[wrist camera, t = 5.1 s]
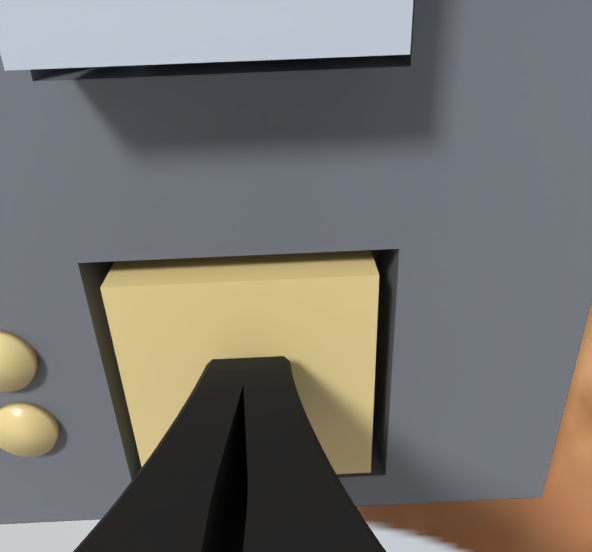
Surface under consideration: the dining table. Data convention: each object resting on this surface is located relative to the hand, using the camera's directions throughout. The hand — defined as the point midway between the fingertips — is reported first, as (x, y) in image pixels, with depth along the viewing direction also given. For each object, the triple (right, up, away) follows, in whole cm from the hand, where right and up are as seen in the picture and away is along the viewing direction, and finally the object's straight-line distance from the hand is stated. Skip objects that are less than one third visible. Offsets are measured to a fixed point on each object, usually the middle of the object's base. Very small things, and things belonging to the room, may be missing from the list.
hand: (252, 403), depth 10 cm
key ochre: (0, +1, +2) cm, 2 cm away
